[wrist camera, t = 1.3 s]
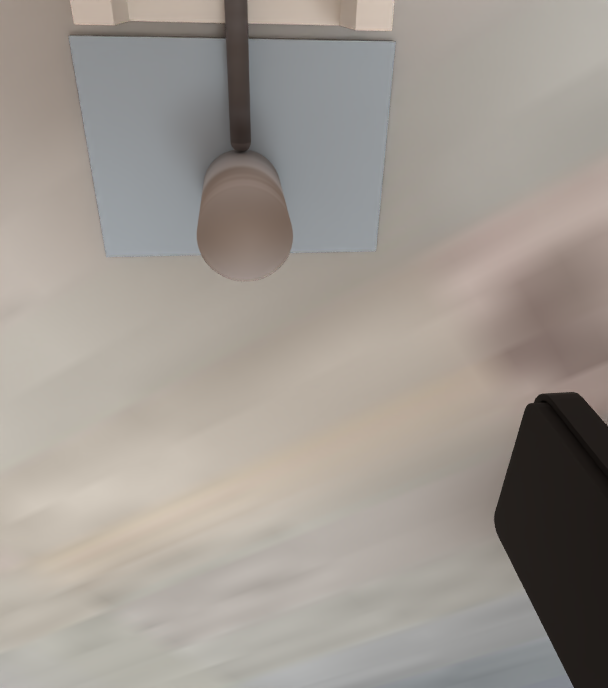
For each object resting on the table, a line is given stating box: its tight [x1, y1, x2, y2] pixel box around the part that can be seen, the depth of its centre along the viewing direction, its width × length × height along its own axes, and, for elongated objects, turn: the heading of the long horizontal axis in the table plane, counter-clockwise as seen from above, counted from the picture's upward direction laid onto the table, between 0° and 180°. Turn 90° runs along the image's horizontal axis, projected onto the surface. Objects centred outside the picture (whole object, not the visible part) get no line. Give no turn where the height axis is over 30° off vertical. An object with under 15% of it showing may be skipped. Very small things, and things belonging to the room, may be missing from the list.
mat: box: [69, 35, 396, 257], centre depth 23 cm, size 8×12×1 cm
